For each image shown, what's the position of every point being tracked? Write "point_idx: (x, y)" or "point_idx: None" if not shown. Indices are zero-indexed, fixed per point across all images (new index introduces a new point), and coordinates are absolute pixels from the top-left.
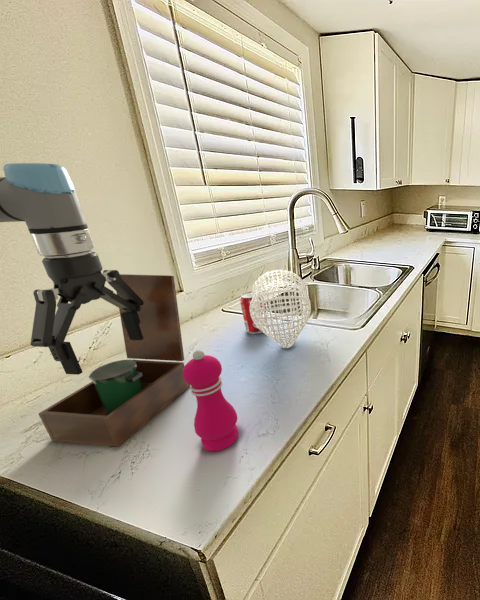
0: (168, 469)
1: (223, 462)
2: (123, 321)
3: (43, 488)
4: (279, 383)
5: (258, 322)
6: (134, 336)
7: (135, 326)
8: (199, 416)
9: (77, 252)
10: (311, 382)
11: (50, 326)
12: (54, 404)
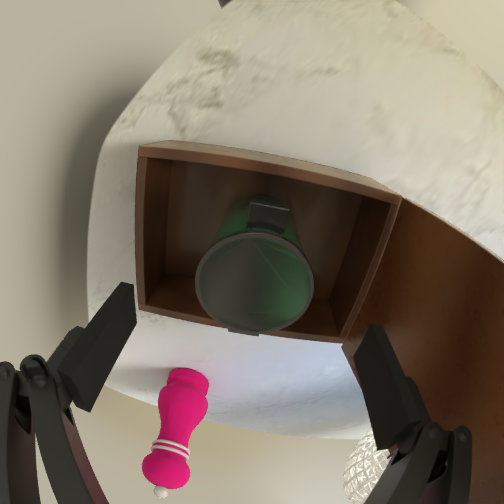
0: (140, 347)
1: (159, 385)
2: (491, 270)
3: (90, 224)
4: (303, 405)
5: (363, 463)
6: (364, 353)
7: (367, 400)
8: (161, 413)
9: None
10: (296, 426)
11: (27, 460)
12: (171, 152)
